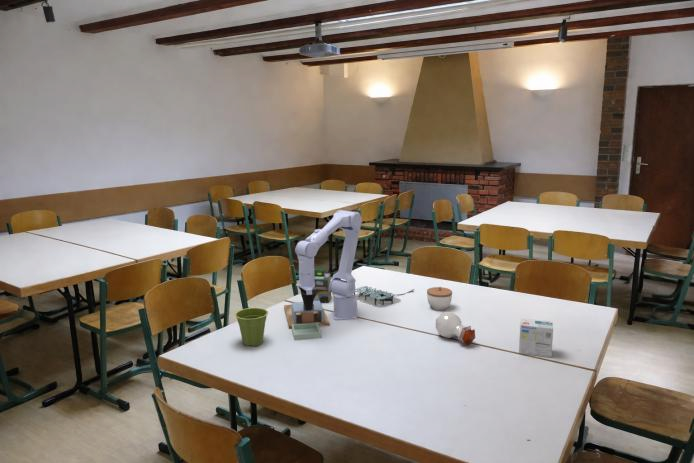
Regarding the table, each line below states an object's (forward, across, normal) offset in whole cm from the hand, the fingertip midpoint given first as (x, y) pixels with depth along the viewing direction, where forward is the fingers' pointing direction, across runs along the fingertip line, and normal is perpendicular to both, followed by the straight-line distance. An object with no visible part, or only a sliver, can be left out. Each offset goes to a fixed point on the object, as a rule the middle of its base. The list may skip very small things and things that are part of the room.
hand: (307, 306), depth 190 cm
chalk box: (+10, -34, +10) cm, 37 cm away
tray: (+10, +3, -1) cm, 10 cm away
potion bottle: (+10, +18, +52) cm, 56 cm away
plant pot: (+10, +6, -21) cm, 24 cm away
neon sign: (+11, -35, +41) cm, 55 cm away
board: (+10, -15, +1) cm, 18 cm away
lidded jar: (+10, -14, +59) cm, 61 cm away
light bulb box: (+10, +34, +75) cm, 83 cm away
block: (+10, -9, +1) cm, 14 cm away
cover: (+8, -9, +1) cm, 13 cm away
